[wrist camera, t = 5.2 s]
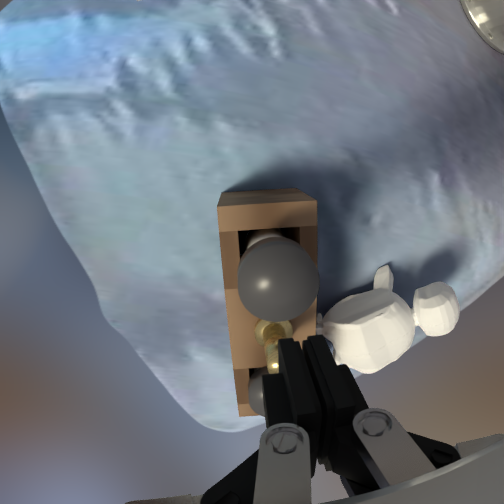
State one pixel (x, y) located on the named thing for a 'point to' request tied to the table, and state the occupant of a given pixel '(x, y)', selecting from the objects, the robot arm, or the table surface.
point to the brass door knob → (272, 339)
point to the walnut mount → (230, 222)
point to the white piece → (385, 322)
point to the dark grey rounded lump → (257, 390)
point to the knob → (276, 276)
